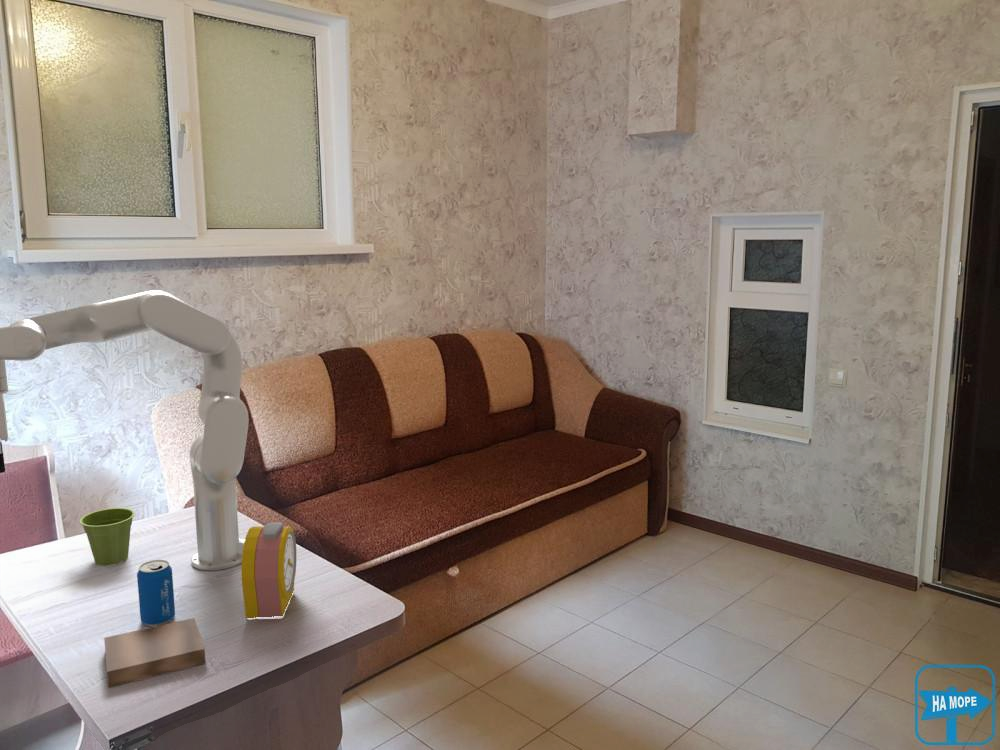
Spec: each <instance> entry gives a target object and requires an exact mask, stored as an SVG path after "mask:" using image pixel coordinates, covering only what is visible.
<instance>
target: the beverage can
mask: <svg viewBox="0 0 1000 750" xmlns="http://www.w3.org/2000/svg"><path fill="white" fill-rule="evenodd" d="M136 578H137V579H136V580H137V590H138V591H137V592H138V603H139V617H140V618H139V619H140V622H141V623H142V624H144V625H145V626H149V627H155V626H160V625H164V624H169V622H171V620H172V619H174V617H175V616H176V607H175V597H174V596H175V595H174V580H173V569H172V567H171V565H170V562H169V561H168V560H164V559H154V560H149V561H145V562H143V563H142V564H140V565H139V566H138V571H137V572H136Z"/></svg>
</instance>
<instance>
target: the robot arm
mask: <svg viewBox="0 0 1000 750" xmlns="http://www.w3.org/2000/svg"><path fill="white" fill-rule="evenodd" d="M150 331H154V332H156V333H159V334H160V335H161V336H162V335H163V336H164V337H166V338H168V339H170V340H172V341H173V342H177V343H178V344H181V345H183V346H185V347H188V348H189V349H192V350H194V351H195V352H198V353H199V354H201V358H202V361H203V375H202V383H201V390H200V398H199V402H198V403H199V404H198V410H197V411H198V417H199V419H200V421H201V422H202V423H203V424H204V428H203V433H202V434H200V435H199V436H198V437H197V438H196V439H195V440H194V441H193V443H192V444H191V447H190V450H189V463H190V465H189V466H190V470H191V478H192V484H193V498H194V499H193V501H194V514H195V515H194V516H195V528H196V529H195V530H196V531H195V532H196V544H197V546H196V547H197V552H196V553H194V554H193V555H192V556H191V560H190V561H191V565H192V567H194V568H196V569H198V570H204V571H218V570H224V569H228V568H231V567H235V566H237V565H239V564H241V563H242V554H243V547H244V542H245V539H242V538H240V536H239V521H238V517H239V516H238V500H237V499H238V496H237V484H236V477H237V476H239V474H240V472H241V470H242V467H243V464H244V459H245V454H246V453H245V452H246V446H247V439H248V431H249V424H250V423H249V421H250V420H249V411H248V409H247V406H246V404H245V402H244V401H243V400H242V399H241V397H240V395H241V394H240V393H241V384H242V374H243V373H242V372H243V359H242V353H241V350H240V346H239V344H238V342H237V340H236V338H235V336H234V335H233V334H232V333H233V332H232V331H230V328H229V327H228V325H227V324H226V323H225V322H224V321H223V320H221V319H220V318H217V317H215V316H214V315H212V314H208V313H207V312H206V311H205V312H204V311H203V310H201V309H199V308H196V307H195V306H192V305H191V304H189V303H186V301H185V302H184V301H183V300H181V299H179V298H178V297H176V296H174V295H172V294H171V293H169V292H167V291H163V290H160V289H157V290H156V289H154V290H153V289H152V290H147V291H142V292H138V293H134V294H129V295H125V296H121V297H117V298H112V299H108V300H103V301H99V302H94V303H90V304H84V305H80V306H77V307H73V308H69V309H64V310H59V311H58V310H57V311H55V312H50V313H45V314H40V315H36V316H32V317H28V318H24V319H20V320H17V321H14V322H12V323H11V324H10V325H8V326H4V327H3V326H2V327H0V474H1V473H2V474H3V473H5V472H6V466H5V456H4V452H3V443H2V441H4V442H6V443H7V442H8V441H9V432H8V421H7V415H6V414H7V412H6V406H5V400H4V394H6V393H9V386H8V385H9V384H8V376H7V369H6V361H19V362H20V361H21V362H28V361H32V360H35V359H38V358H39V357H40V356H42V355H43V354H44V352H45V351H46V350H50V349H54V348H58V347H63V346H66V345H71V344H72V345H73V344H78V343H97V344H98V343H99V344H100V343H105V342H106V343H107V342H110V341H114V340H117V339H118V340H119V339H121V338H125V337H130V336H132V335H137V334H141V333H145V332H150Z"/></svg>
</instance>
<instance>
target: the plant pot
mask: <svg viewBox="0 0 1000 750" xmlns="http://www.w3.org/2000/svg"><path fill="white" fill-rule="evenodd" d="M135 514H136V512H135V510H133V509H130V508H125V507H112V508H104V509H100V510H99V509H98V510H95V511H92V512H89V513H87V514H85V515H83V516H82V517H81V518H80V520H79V523H80V525H82V527H83V530H84V533H85V534H86V537H87V540H88V543H89V546H90V550H91V553H92V556H93V560H94V563H95V564H96V565H100V566H103V567H107V566H115V565H118V564H120V563H121V562H124V561H126V560H127V559H128V558H129V550H130V539H131V531H132V528H131V527H132V524H133V518H134V516H135Z"/></svg>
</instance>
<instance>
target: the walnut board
mask: <svg viewBox="0 0 1000 750" xmlns="http://www.w3.org/2000/svg"><path fill="white" fill-rule="evenodd" d="M103 639H104V641H103V642H104V650H105V652H104V653H105V663H106V673H107V683H108V684H107V685H108V688H114V687H116V686H120V685H125V684H129V683H131V682H135V681H141V680H145V679H149V678H152V677H157V676H161V675H164V674H165V675H166V674H169V673H172V672H173V673H174V672H176V671H177V672H178V671H180V670H185V669H189V668H192V667H193V668H194V667H196V665H197V666H200V665H201V666H202V665H204V663H206V651H205V650H206V649H205V646H204V643H203V639H202V637H201V634H200V630H199V628H198V624H197V621H196V618H195V617H192V618H188V619H184V620H180V621H174V622H170V623H169V622H168V623H166V624H164V625H160V626H150V627H147V628H143V629H138V630H134V631H128V632H125V633H120V634H116V635H110V636H106V637H104V638H103Z"/></svg>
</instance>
